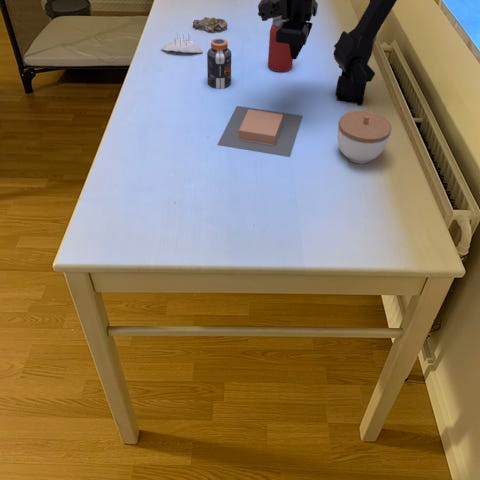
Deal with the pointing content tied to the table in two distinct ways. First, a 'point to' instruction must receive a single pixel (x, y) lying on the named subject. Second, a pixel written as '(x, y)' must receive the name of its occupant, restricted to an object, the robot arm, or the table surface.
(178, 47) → the pincushion
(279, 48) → the beer can
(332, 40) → the table surface
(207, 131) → the table surface
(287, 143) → the mat
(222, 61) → the pill bottle
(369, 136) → the lidded jar
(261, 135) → the tile
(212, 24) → the mineral rock
